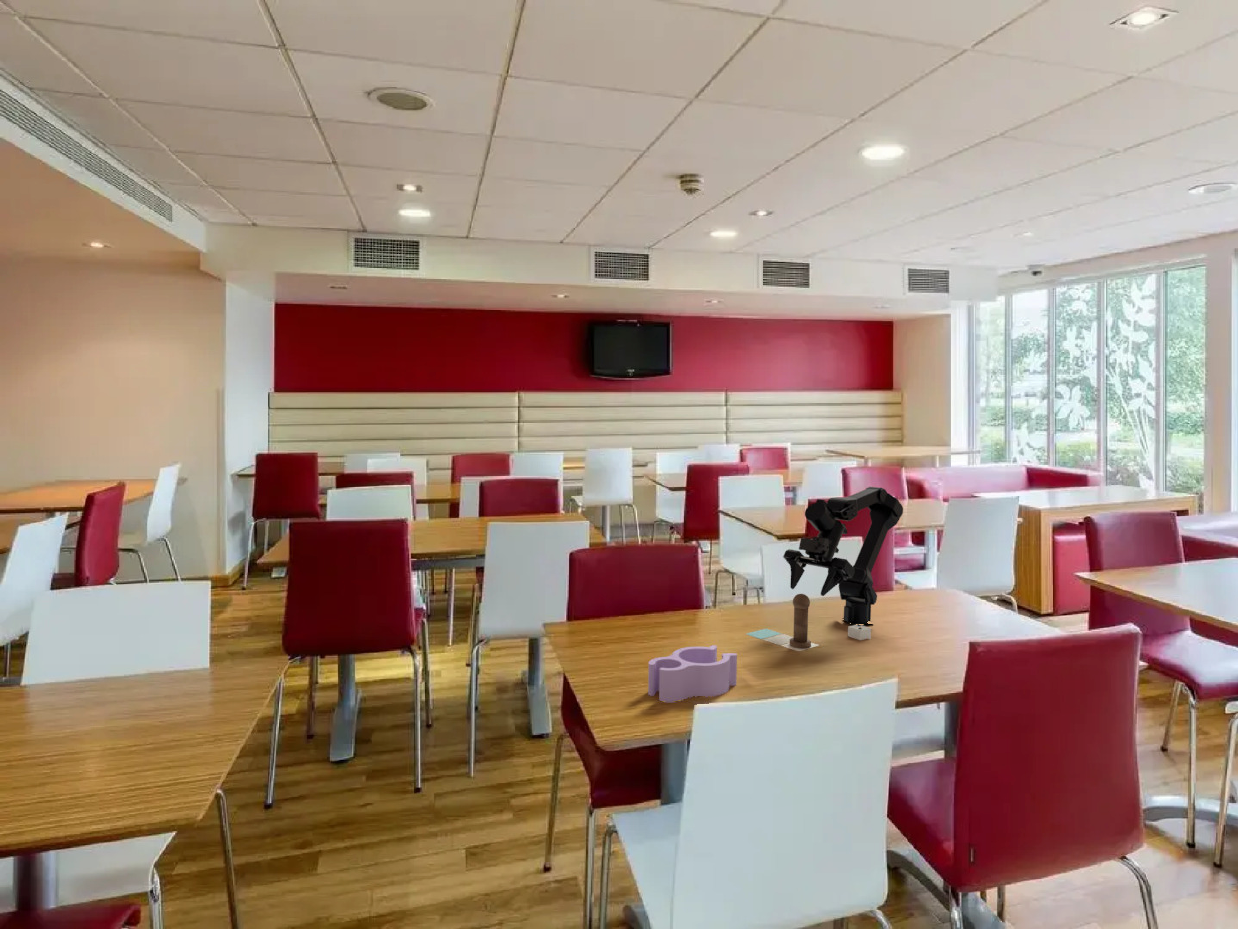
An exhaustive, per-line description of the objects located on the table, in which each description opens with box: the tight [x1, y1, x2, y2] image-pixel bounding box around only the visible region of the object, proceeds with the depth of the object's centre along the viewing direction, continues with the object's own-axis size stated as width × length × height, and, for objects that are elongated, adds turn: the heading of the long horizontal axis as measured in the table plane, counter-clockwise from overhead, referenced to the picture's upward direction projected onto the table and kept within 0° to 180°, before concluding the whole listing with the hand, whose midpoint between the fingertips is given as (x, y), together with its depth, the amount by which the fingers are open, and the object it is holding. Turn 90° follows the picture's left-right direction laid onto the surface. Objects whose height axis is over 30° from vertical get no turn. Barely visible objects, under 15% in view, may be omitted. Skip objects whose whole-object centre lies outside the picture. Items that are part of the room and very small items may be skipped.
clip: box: [647, 644, 738, 703], centre depth 161 cm, size 20×12×7 cm, turn 124°
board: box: [746, 628, 820, 652], centre depth 191 cm, size 19×9×1 cm, turn 38°
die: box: [847, 624, 872, 641], centre depth 194 cm, size 4×4×4 cm
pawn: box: [790, 593, 812, 650], centre depth 186 cm, size 5×5×13 cm
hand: (806, 591), depth 193 cm, fingers open, 9 cm apart
